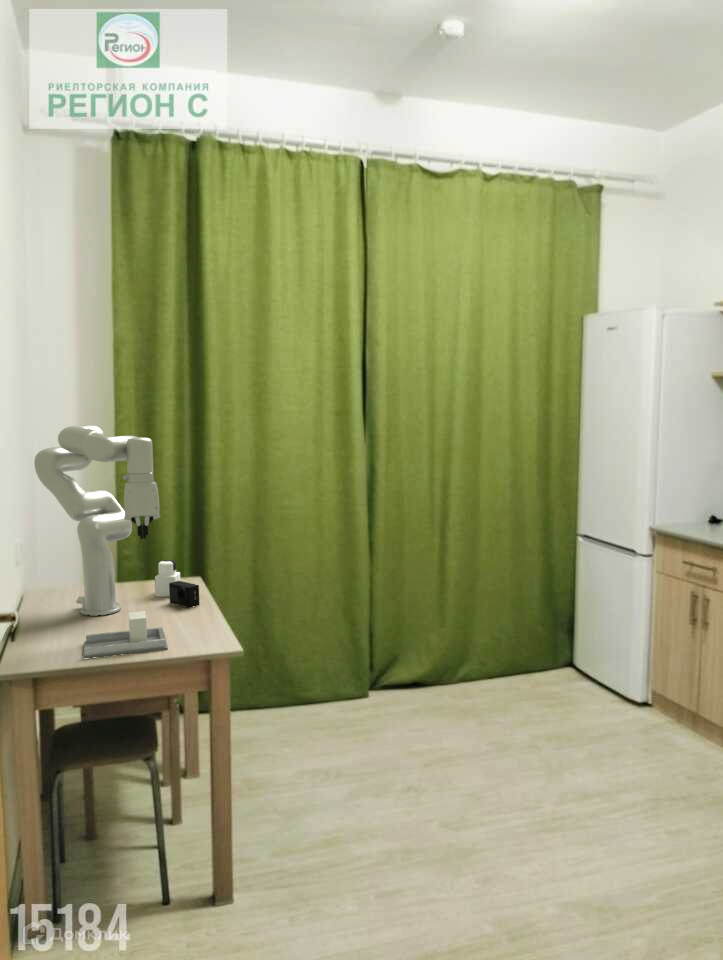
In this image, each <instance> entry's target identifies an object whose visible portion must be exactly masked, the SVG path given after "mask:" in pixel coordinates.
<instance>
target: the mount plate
mask: <svg viewBox="0 0 723 960" xmlns="http://www.w3.org/2000/svg"><path fill="white" fill-rule="evenodd" d="M164 636H165V645H166V647H160V648H151V649H142V650H134V651H125V652H116V653H108V654H99V655H90V656H85V647H94V646H103V645H112V644H121V643H130V638H127V639H118V640H109V641H100V642H91V643H86V640H84V643H83V644H84V646H83V656H82V659H83V658H92V659H94V658H93V657H100V658H107V657H106V656H109V657H114V656H113V655H117V656H122V655H121V654H126V655H134V654H133V653H135V654H142V653H150V652H151V651H152V652H159V651H168V648H169V647H168V643H167V639H166V634H165V633H164ZM156 639H159V635H155V636H147V640H156ZM152 652H151V653H152ZM130 653H131V654H130ZM104 656H105V657H104Z"/></svg>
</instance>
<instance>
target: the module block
mask: <svg viewBox="0 0 723 960" xmlns="http://www.w3.org/2000/svg"><path fill="white" fill-rule="evenodd" d="M128 628H129V631H130V642H139V641H147V628H148V627H147V614H146V611H145V610H143V611H142V610H140V611H133V612H132V611H131V612H128Z"/></svg>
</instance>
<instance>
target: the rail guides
mask: <svg viewBox="0 0 723 960" xmlns="http://www.w3.org/2000/svg"><path fill="white" fill-rule="evenodd" d="M164 634H165V632H164V628H163V626H157V627H147V636H155V635H159V639H156V640H147V641H139V642H130V643H121V644H112V645H103V646H94V647H85V656H90V655H99V654H108V653H116V652H125V651H134V650H142V649H151V648H160V647H166V645H165V638H166V635H165V636H164ZM127 638H130V631H129V630H120V631H119V630H118V631H111V632H109V631H108V632H102V633H100V632H99V633H91V634H85V641H86V643H91V642H100V641H109V640H118V639H127Z"/></svg>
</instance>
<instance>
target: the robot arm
mask: <svg viewBox="0 0 723 960" xmlns="http://www.w3.org/2000/svg"><path fill="white" fill-rule="evenodd" d="M57 442H58V445H59V446H55V447H53V446H52V447H47V448H44V449H42V450H39V451H38V452H37V453H36V454H35V456H34V461H33V462H34V463H33V464H34V470H35V473H36V476H37V479H38V480H39V481H40V483H41V484H42V485H43V486H44V487H45V488H46V489H47V490H48V491H49V492H50V493H51V494H52V495H53V496H54V497H55V499H56V500H57V501H58V503H59V505H60V506H61V507H62V509H63V510H64V512H65V513H66V514H67V515H68V516H69V517H70V518H71V519H72V520H73V521H75V522H78V524H77V528H76V531H77V537H78V539H79V540H78V541H79V545H80V548H81V549H80V550H81V557H82V573H83V574H82V575H83V577H82V578H83V589H84V590H83V591H84V595H79V596H78V597H77V598H76V601H75V603H76V604H79V605H80V604H82V605H81V606H82V607H80V610H79V611H80V614H82V615H84V616H87V615H90V616H89V617H93V616H94V617H98V615H101V616H106V615H107V614H108V615H112V614H115V613H117V612H119V611H120V610H121V609H122V605H121V604H120V603H119V602H116V599H117V598H116V597H117V596H116V581H115V579H116V578H115V563H114V562H115V561H114V554H113V553H112V550H111V549H110V548H109V547H108V545H107V544H108V543H113V542H118V541H122V540H124V539H127V538H128V537H129V536H130V535H131V533H132V531H133V524H132V522H133V523H134V525H136V526H137V536H138V537H140V540H142V539H144V540H145V539H147V536H149V527H148V526H149V525H150V523H152V522H153V521H154V520H157V519H160V518H161V513H160V497H159V490H158V484H157V482H156V481H155V480H154V479H155V478H154V452H153V451H154V449H153V441H152V439H151V438H149V437H146V436H145V437H138V436H136V435H118V436H115V435H114V436H105V434H104V431H103V430H102V429H101V428H100V427H99V426H97V425H93V424H92V425H91V424H90V425H72V426H67V427H65V428H63V429H61V431H59V433H58V436H57ZM93 461H96V462H99V463H100V462H103V463H111V462H120V461H123V462H124V461H126V462H127V463H126V465H127V466H126V467H127V468H126V469H127V473H126V474H125V475H122V480H123V481H126V483H125V485H124V495H123V496H124V497H123V501H124V502H123V507H124V508H123V507H122V505H121V504H120V503H119V502H118V500H117V499H116V497H115V496H114V495H113V494H112V493H111V492H109V491H108V490H104V489H95V490H85V489H84V488H83V487H82V486H81V485H80V483H79V482H78V481H77V480H76V479H75V478H74V477H71V476H70V475H68V474H66V473H64V472H74V471H80V470H84V469H87V467H89V465H90V464H91V463H92V462H93ZM140 517H141V518H142V517H144V521H143V524H142V522H141V520H140V519H141V518H140ZM108 615H107V616H108Z"/></svg>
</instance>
